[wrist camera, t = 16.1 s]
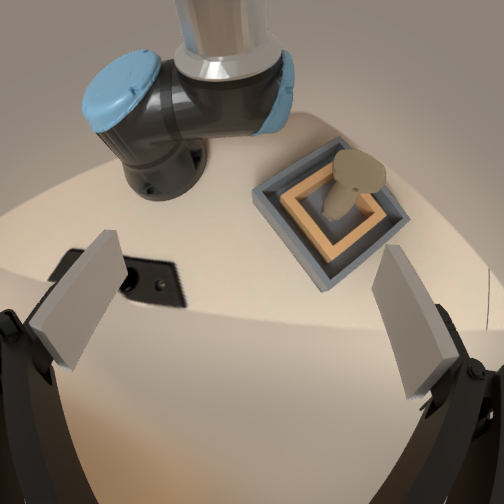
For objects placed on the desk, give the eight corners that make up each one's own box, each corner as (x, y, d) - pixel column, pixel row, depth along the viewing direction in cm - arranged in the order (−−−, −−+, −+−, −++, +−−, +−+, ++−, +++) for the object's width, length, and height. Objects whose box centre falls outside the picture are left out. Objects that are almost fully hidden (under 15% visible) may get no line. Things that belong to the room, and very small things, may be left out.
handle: (315, 194, 44) (337, 143, 29) (351, 206, 43) (387, 161, 28) (308, 220, 43) (330, 177, 28) (346, 233, 42) (383, 196, 27)
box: (252, 202, 45) (251, 190, 40) (333, 151, 46) (339, 135, 41) (321, 292, 41) (329, 290, 36) (397, 228, 43) (410, 219, 38)
